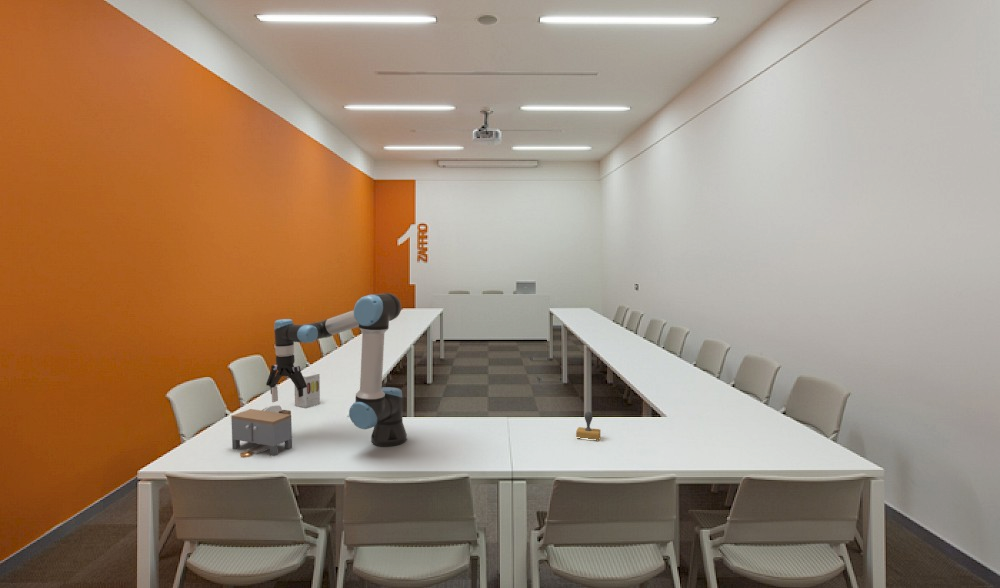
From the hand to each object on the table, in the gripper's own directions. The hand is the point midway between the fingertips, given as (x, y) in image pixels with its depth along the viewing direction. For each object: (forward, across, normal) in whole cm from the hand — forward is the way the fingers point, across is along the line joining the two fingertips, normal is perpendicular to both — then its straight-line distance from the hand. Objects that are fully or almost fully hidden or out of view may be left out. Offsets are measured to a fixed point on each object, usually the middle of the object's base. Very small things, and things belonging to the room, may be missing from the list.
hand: (287, 402), depth 231 cm
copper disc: (+16, +1, +22) cm, 27 cm away
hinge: (+15, +19, -10) cm, 27 cm away
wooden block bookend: (+16, +1, +10) cm, 18 cm away
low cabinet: (+15, +1, +14) cm, 21 cm away
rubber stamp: (+19, -123, -47) cm, 133 cm away
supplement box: (+15, +27, -43) cm, 53 cm away
